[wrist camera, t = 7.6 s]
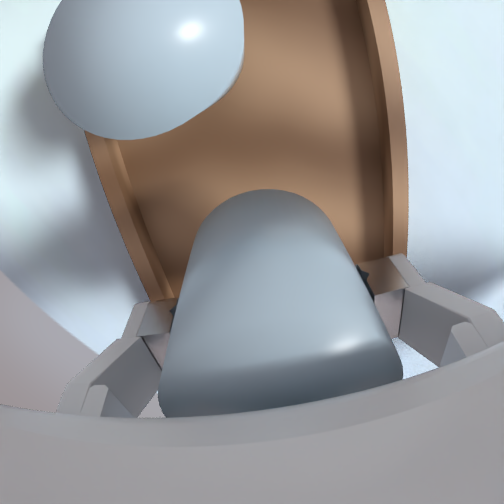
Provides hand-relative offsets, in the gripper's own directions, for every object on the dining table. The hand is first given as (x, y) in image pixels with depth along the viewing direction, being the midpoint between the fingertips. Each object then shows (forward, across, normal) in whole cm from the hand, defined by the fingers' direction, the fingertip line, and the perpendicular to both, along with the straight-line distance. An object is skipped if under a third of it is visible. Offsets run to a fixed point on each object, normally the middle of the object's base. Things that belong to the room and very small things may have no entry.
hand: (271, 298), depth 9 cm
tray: (+7, 0, -3) cm, 7 cm away
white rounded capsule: (+6, +2, -8) cm, 10 cm away
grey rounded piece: (+2, 0, 0) cm, 2 cm away
